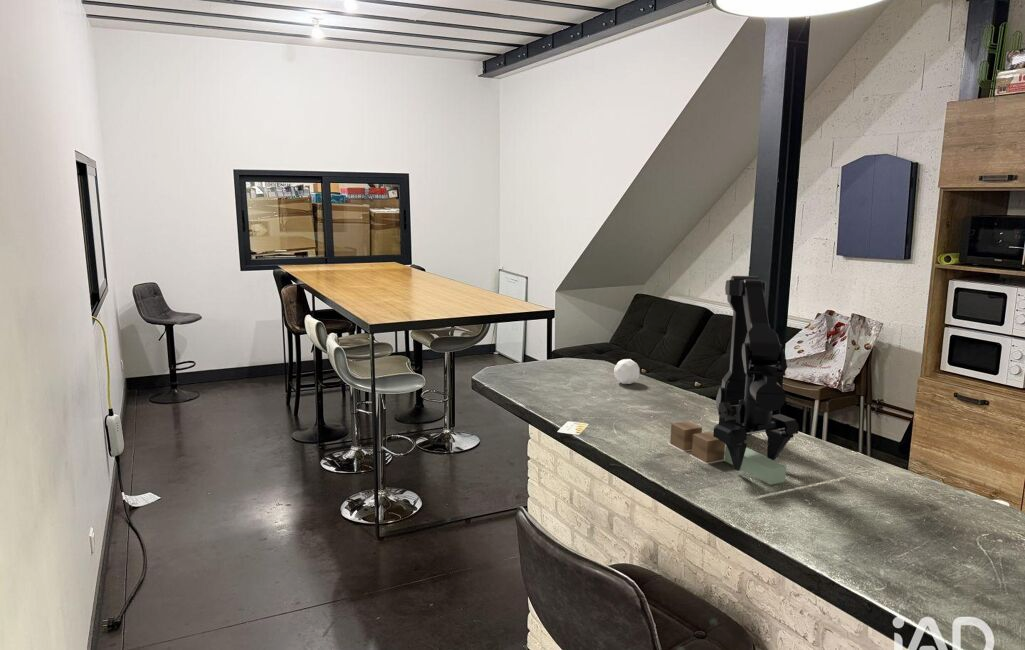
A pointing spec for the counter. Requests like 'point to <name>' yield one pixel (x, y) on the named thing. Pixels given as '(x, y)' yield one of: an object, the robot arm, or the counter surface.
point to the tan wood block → (707, 447)
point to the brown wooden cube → (683, 434)
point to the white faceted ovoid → (626, 371)
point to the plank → (760, 466)
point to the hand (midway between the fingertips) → (753, 466)
